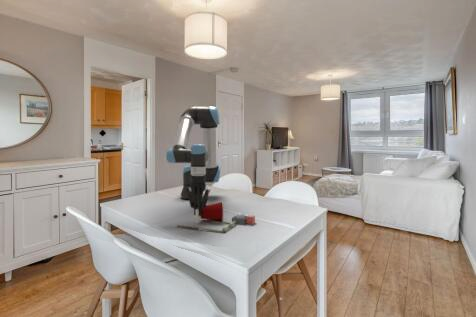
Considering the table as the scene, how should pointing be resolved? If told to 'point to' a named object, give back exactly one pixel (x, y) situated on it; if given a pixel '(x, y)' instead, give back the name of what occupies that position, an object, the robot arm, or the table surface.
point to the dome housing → (245, 220)
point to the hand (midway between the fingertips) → (198, 221)
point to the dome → (240, 215)
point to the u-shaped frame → (212, 229)
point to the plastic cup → (213, 212)
